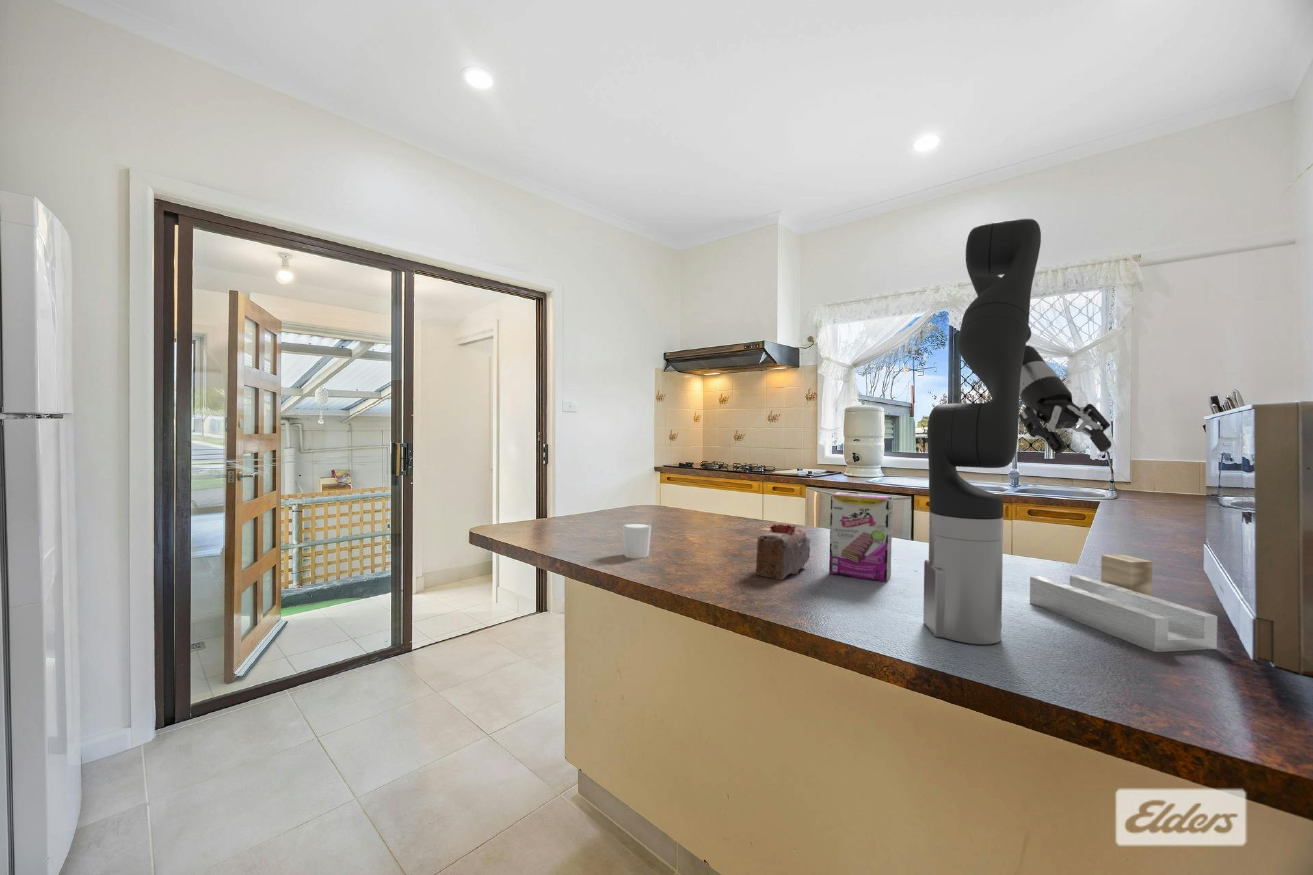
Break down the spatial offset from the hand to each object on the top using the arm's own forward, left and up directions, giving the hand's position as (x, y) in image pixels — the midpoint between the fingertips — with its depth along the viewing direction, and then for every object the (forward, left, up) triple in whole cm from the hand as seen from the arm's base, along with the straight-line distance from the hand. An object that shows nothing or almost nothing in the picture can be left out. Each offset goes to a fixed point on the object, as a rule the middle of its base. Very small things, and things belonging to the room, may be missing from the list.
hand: (1084, 450), depth 98 cm
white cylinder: (-87, +3, -26) cm, 91 cm away
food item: (-54, -2, -26) cm, 60 cm away
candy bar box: (-39, -2, -26) cm, 47 cm away
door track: (-6, -20, -26) cm, 33 cm away
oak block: (+2, -9, -26) cm, 28 cm away
